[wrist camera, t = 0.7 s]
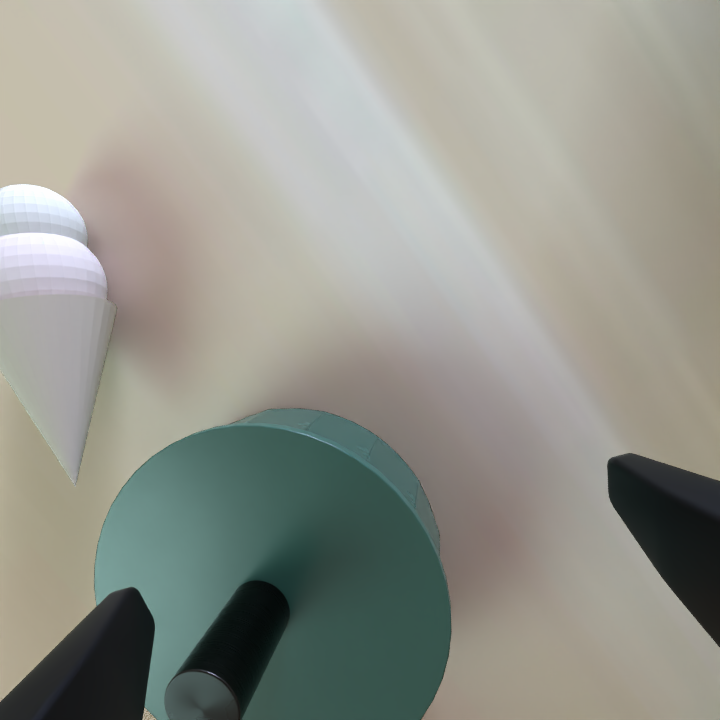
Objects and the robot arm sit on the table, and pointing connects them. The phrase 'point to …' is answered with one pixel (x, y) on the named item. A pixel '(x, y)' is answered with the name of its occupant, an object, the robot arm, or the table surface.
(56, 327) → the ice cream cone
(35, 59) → the table surface
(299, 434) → the pot lid
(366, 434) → the pot
